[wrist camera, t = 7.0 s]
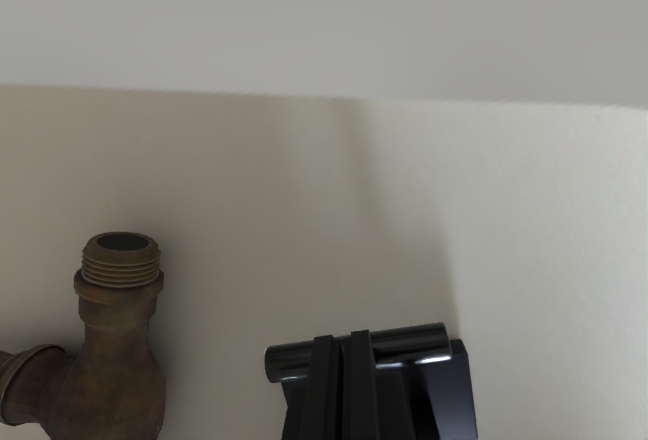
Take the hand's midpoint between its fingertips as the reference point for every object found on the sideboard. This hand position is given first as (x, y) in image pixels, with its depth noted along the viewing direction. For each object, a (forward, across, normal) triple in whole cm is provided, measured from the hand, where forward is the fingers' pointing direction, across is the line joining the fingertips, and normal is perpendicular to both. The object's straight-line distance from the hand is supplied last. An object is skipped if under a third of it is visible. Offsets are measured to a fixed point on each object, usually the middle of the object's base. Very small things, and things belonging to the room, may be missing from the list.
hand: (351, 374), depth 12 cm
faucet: (+7, +15, +3) cm, 17 cm away
